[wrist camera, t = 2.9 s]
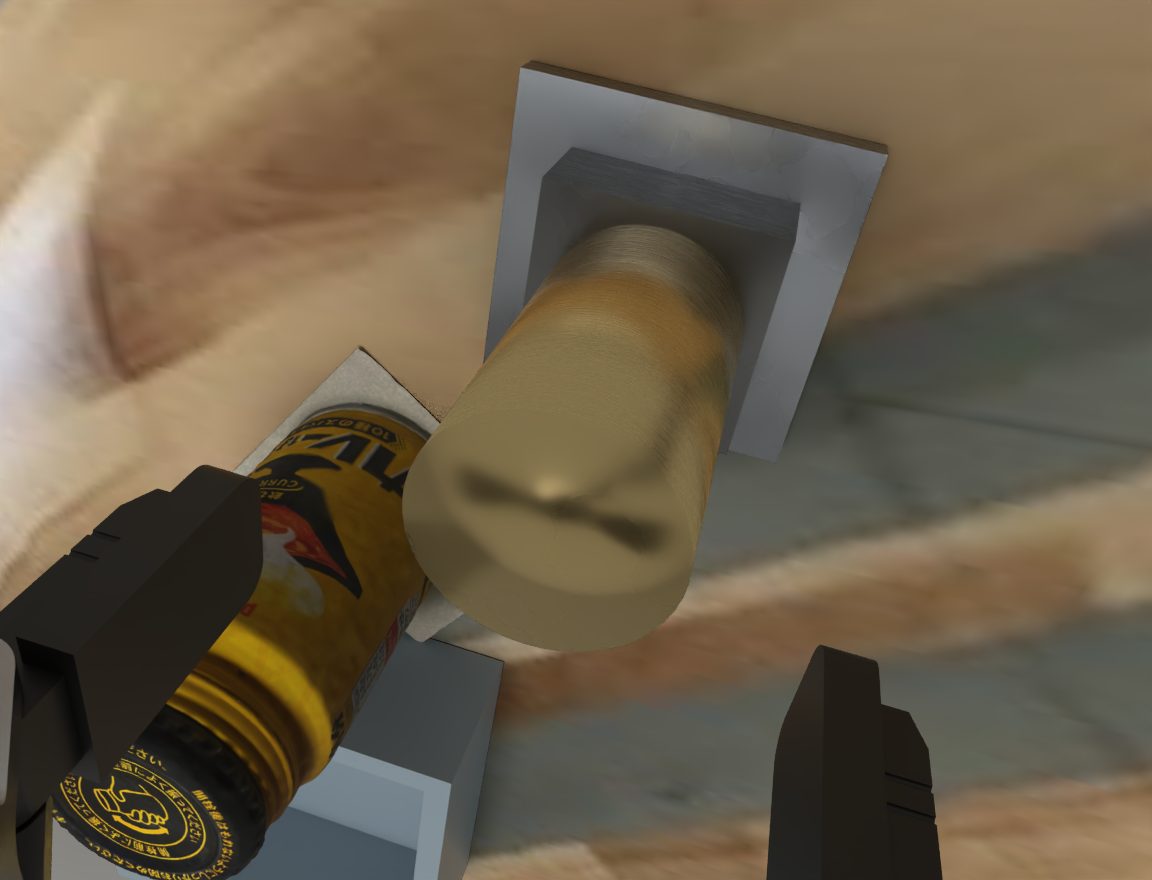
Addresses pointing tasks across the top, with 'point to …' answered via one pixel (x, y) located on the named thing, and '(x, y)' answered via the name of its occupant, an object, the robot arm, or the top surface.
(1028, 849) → the top surface
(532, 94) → the stud plate
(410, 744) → the bin
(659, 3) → the top surface
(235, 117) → the top surface
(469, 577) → the gold cylindrical piece
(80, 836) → the condiment
